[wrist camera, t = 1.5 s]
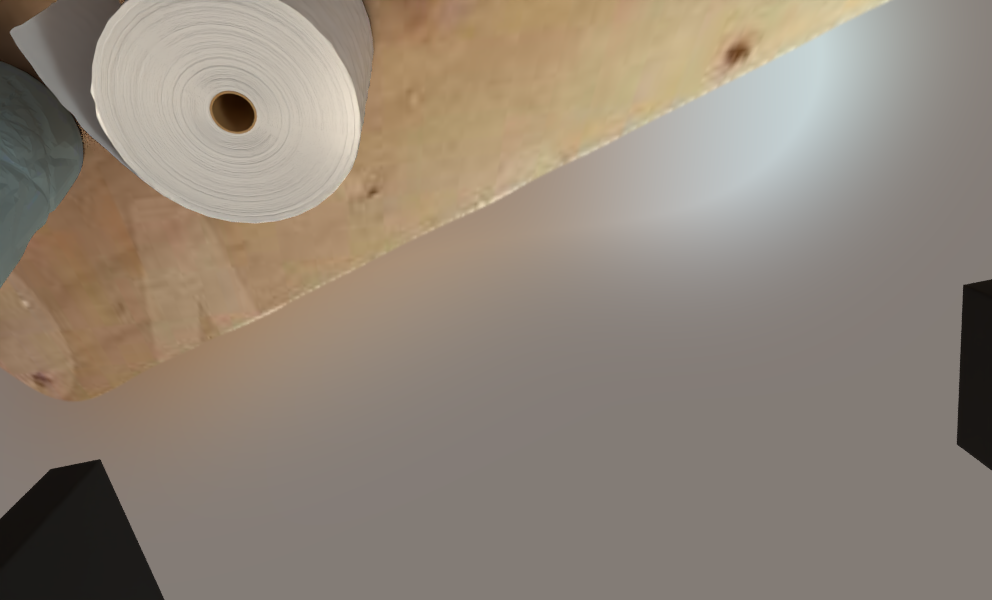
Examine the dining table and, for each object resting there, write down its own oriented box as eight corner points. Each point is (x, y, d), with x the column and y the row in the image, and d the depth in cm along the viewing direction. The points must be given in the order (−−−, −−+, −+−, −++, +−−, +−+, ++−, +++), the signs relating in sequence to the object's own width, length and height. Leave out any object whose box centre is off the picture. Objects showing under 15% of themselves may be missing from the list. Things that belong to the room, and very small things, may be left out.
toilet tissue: (396, 113, 39) (390, 201, 31) (196, 152, 39) (140, 249, 31) (339, -96, 32) (312, -51, 24) (98, -46, 33) (-4, 15, 25)
